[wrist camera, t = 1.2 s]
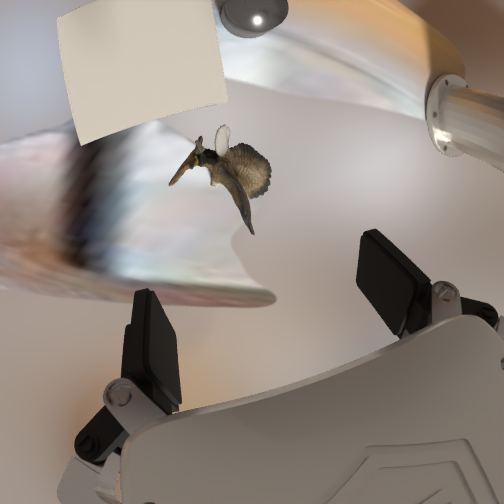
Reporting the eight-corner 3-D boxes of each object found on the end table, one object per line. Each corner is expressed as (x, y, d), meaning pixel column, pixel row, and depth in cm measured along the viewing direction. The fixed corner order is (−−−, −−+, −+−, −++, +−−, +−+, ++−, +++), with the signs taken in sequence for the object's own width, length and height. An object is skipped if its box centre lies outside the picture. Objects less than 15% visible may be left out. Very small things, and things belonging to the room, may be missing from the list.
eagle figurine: (163, 195, 25) (242, 241, 28) (170, 173, 18) (273, 236, 21) (203, 135, 26) (273, 180, 29) (222, 101, 20) (309, 160, 23)
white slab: (203, -17, 15) (205, -29, 12) (223, 101, 22) (228, 102, 20) (68, 24, 13) (56, 18, 11) (91, 139, 21) (80, 145, 18)
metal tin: (269, -6, 17) (283, -19, 13) (277, 36, 19) (292, 28, 16) (216, -3, 16) (222, -17, 13) (224, 41, 19) (231, 32, 16)
